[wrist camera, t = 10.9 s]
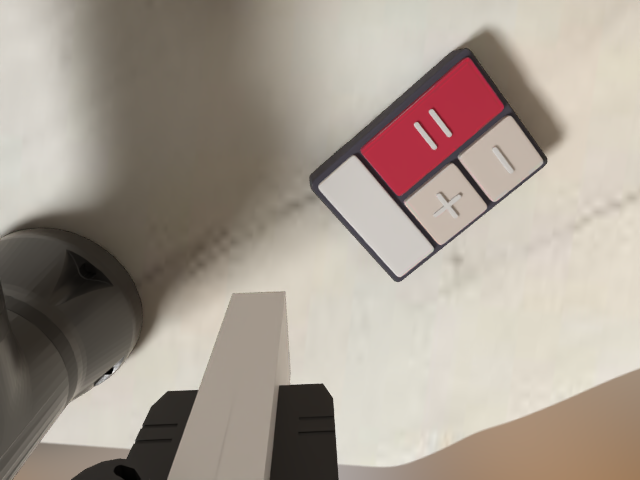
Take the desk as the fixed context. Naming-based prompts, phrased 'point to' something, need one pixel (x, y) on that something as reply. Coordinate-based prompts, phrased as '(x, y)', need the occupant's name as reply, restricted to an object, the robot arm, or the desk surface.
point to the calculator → (428, 165)
